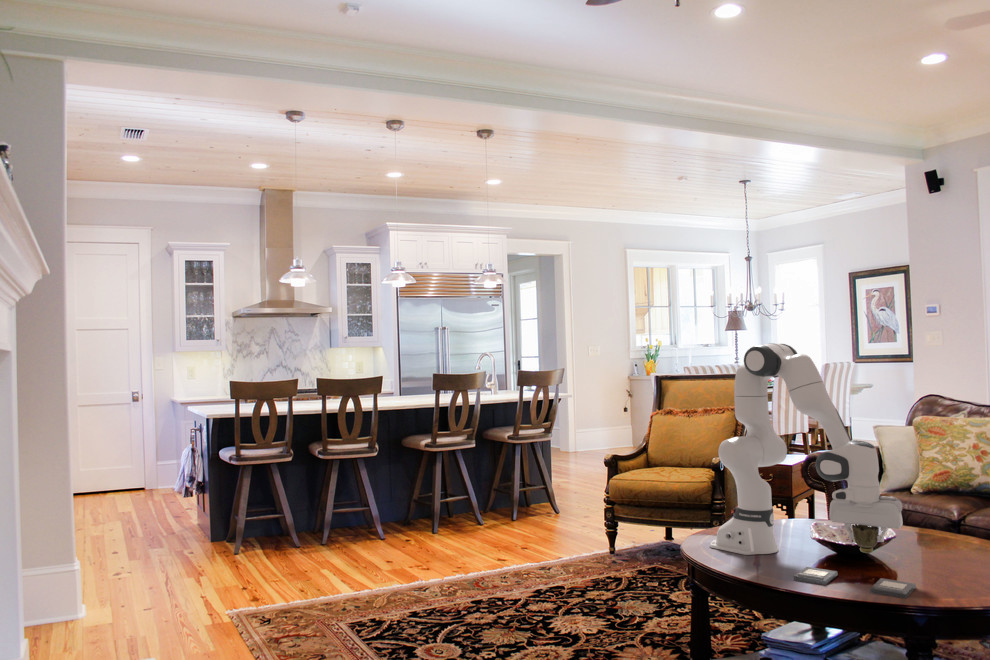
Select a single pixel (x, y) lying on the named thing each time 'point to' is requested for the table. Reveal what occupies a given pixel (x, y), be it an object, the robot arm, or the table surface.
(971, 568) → the table surface
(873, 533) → the cup
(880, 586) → the plates
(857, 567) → the table surface
